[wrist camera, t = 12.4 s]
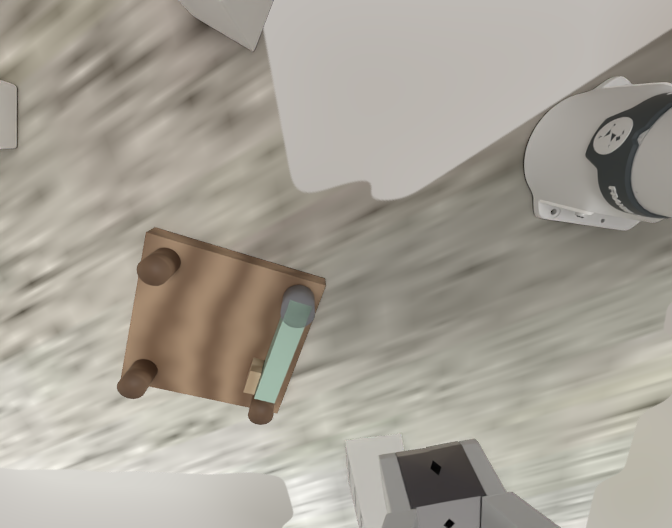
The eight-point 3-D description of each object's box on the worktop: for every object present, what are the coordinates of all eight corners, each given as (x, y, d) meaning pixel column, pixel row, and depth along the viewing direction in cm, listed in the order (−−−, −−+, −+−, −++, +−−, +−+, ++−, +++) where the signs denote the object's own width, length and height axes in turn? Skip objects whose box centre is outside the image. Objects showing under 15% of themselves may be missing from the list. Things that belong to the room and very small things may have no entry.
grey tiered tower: (401, 472, 64) (438, 609, 46) (348, 479, 64) (364, 620, 45) (401, 433, 60) (442, 564, 42) (344, 439, 60) (361, 575, 41)
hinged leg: (288, 280, 45) (286, 293, 41) (318, 290, 46) (319, 303, 42) (253, 378, 50) (249, 397, 46) (281, 384, 51) (279, 404, 47)
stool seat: (325, 278, 48) (327, 298, 42) (278, 401, 56) (274, 434, 49) (154, 227, 43) (129, 241, 37) (129, 369, 51) (104, 400, 45)
